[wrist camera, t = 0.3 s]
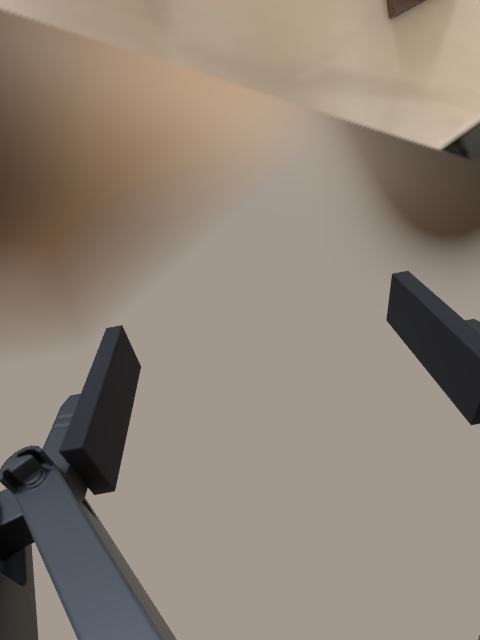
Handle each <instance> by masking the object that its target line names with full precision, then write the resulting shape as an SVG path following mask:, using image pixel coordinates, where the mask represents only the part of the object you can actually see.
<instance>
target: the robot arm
mask: <svg viewBox="0 0 480 640" xmlns="http://www.w3.org/2000/svg"><path fill="white" fill-rule="evenodd" d="M387 321H388V323H389V324H390V325H391V326H392V328H393V329H394V330H395V331H396V333H397V334H398V335H399V336H400V338H401V339H402V340H403V341H404V343H405V344H406V345H407V346H408V348H409V349H410V350H411V351H412V352H413V354H414V355H415V356H416V357H417V359H418V360H419V361H420V362H421V363H422V365H423V366H424V367H425V368H426V370H427V371H428V372H429V373H430V375H431V376H432V377H433V378H434V380H435V381H436V382H437V383H438V384H439V386H440V387H441V388H442V390H443V391H444V392H445V393H446V395H448V397H449V398H450V399H451V401H452V402H453V403H454V404H455V406H456V407H457V408H458V409H459V411H460V412H461V413H462V414H463V416H464V417H465V418H466V419H467V421H468V422H469V423H470V424H471V425H474V424H480V322H479V321H477V320H475V319H471V320H466V321H465V320H463V319H462V318H461V317H460V316H459V315H458V314H457V313H456V312H454V311H453V310H452V309H451V308H450V307H449V306H448V305H446V304H445V303H444V302H443V301H442V300H441V299H440V298H438V297H437V296H436V295H435V294H434V293H433V292H431V291H430V290H429V289H428V288H427V287H426V286H425V285H424V284H422V283H421V282H420V281H419V280H418V279H417V278H416V277H414V276H413V275H412V274H411V273H410V272H409V271H405V272H400V273H394V274H392V279H391V288H390V296H389V304H388V313H387ZM140 369H141V366H140V363H139V361H138V359H137V357H136V355H135V353H134V350H133V348H132V346H131V344H130V342H129V339H128V337H127V335H126V333H125V331H124V328H123V326H116V327H110V328H106V331H105V333H104V336H103V339H102V341H101V344H100V347H99V349H98V351H97V354H96V357H95V359H94V362H93V364H92V367H91V369H90V372H89V375H88V377H87V380H86V382H85V385H84V387H83V390H82V393H81V394H77V395H72V396H70V397H69V398H68V399H67V400H66V401H65V403H64V404H63V405H62V406H61V408H60V410H59V413H58V415H57V417H56V420H55V422H54V424H53V426H52V427H53V428H52V429H51V431H50V433H49V436H48V438H47V440H46V442H45V445H44V447H43V449H41V448H40V447H39V446H29V447H25V448H23V449H21V450H19V451H17V452H15V453H14V454H13V455H12V456H11V457H9V458H8V459H7V461H6V462H5V463H4V464H3V466H2V467H1V469H0V482H1V483H2V484H3V485H4V486H5V487H6V488H7V489H5V490H3V491H1V492H0V640H38V628H37V615H36V602H35V588H34V574H33V561H32V546H31V544H32V543H34V542H35V543H36V546H37V548H38V550H39V552H40V555H41V557H42V559H43V561H44V564H45V566H46V568H47V570H48V573H49V575H50V577H51V580H52V582H53V584H54V586H55V589H56V591H57V593H58V596H59V598H60V600H61V602H62V605H63V607H64V609H65V611H66V614H67V616H68V618H69V621H70V622H71V625H72V627H73V630H74V632H75V634H76V636H77V639H78V640H176V638H175V636H174V635H173V633H172V632H171V630H170V629H169V627H168V626H167V624H166V623H165V621H164V619H163V618H162V616H161V615H160V613H159V612H158V610H157V608H156V607H155V605H154V604H153V602H152V601H151V599H150V598H149V596H148V594H147V593H146V591H145V590H144V588H143V587H142V585H141V584H140V582H139V580H138V579H137V578H136V576H135V574H134V573H133V571H132V570H131V568H130V567H129V565H128V564H127V562H126V560H125V559H124V557H123V556H122V554H121V553H120V551H119V549H118V548H117V546H116V545H115V543H114V542H113V540H112V539H111V537H110V535H109V534H108V532H107V531H106V529H105V528H104V526H103V525H102V523H101V521H100V520H99V518H98V517H97V516H96V514H95V512H94V511H93V509H92V507H91V506H90V504H89V503H88V502H87V500H86V499H85V495H86V491H87V488H89V489H90V490H91V491H92V493H93V494H94V495H97V494H102V493H107V492H113V491H115V488H116V483H117V479H118V474H119V469H120V465H121V460H122V455H123V450H124V445H125V441H126V436H127V431H128V426H129V421H130V417H131V412H132V407H133V403H134V398H135V393H136V388H137V383H138V379H139V373H140ZM478 640H480V636H479V639H478Z"/></svg>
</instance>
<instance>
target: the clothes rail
mask: <svg viewBox="0 0 480 640" xmlns="http://www.w3.org/2000/svg"><path fill="white" fill-rule="evenodd" d="M423 1H425V0H387V3H388V11H389V18H393V17H396V16H398V15H399V14H401V13H403V12H405V11H407V10H409V9H410V8H412V7H414V6H416V5H418V4H420V3H421V2H423Z"/></svg>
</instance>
